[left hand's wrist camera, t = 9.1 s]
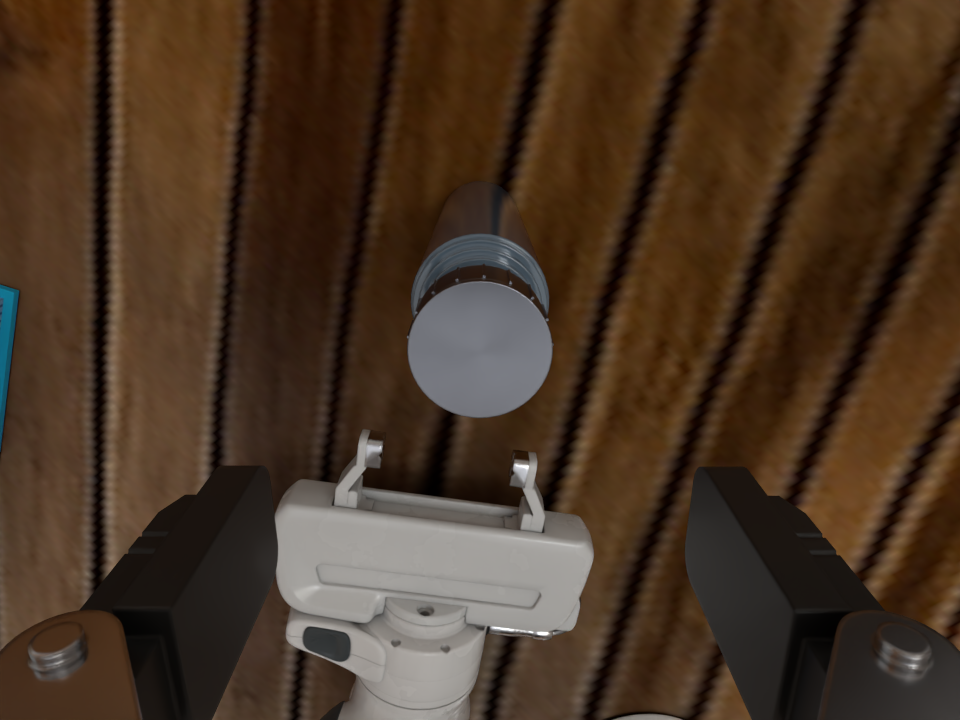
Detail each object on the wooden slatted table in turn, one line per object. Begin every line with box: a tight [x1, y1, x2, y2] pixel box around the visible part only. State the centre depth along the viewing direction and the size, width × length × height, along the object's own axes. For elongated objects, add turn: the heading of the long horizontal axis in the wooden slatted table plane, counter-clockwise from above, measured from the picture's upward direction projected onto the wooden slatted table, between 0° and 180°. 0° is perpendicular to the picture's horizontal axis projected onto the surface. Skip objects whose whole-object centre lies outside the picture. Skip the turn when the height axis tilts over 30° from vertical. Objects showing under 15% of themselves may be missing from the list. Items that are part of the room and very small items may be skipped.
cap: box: [407, 264, 553, 418], centre depth 20 cm, size 4×4×2 cm
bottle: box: [411, 181, 549, 319], centre depth 31 cm, size 5×5×24 cm
